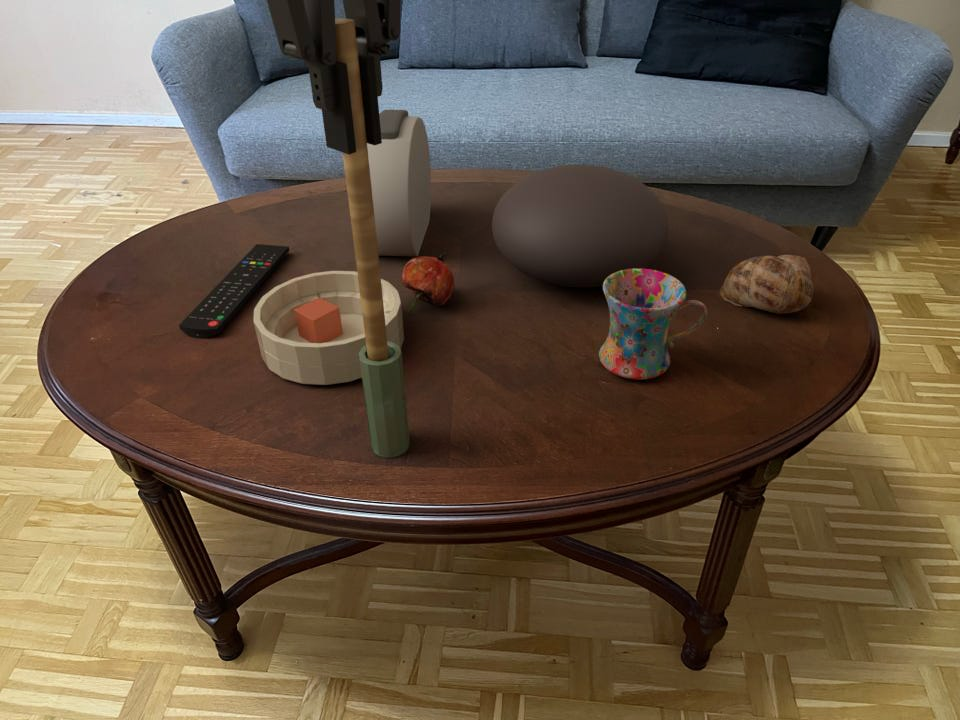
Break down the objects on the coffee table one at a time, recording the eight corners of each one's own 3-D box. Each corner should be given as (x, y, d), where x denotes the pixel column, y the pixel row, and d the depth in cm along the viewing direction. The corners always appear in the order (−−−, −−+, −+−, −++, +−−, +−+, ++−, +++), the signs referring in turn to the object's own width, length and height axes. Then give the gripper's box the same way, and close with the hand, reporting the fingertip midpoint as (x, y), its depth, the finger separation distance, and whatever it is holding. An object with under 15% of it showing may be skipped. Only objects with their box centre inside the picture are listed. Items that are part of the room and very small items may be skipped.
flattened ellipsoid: (473, 244, 113) (472, 152, 105) (620, 225, 118) (630, 136, 109) (519, 326, 94) (521, 222, 85) (692, 300, 99) (711, 198, 90)
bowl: (323, 408, 81) (315, 365, 77) (234, 350, 90) (224, 310, 87) (432, 341, 91) (429, 301, 88) (342, 295, 101) (337, 257, 97)
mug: (594, 383, 84) (602, 306, 78) (595, 339, 91) (603, 265, 85) (699, 392, 82) (716, 314, 76) (692, 346, 90) (706, 272, 84)
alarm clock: (390, 209, 125) (380, 92, 113) (433, 210, 124) (426, 92, 112) (364, 267, 107) (348, 137, 96) (413, 269, 107) (403, 138, 95)
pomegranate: (436, 335, 96) (479, 276, 97) (402, 308, 91) (448, 245, 92) (407, 317, 102) (448, 261, 102) (373, 290, 97) (417, 231, 97)
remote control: (290, 254, 111) (288, 246, 110) (217, 340, 92) (214, 331, 91) (258, 251, 112) (256, 244, 111) (179, 336, 93) (176, 327, 92)
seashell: (785, 274, 103) (817, 237, 93) (798, 332, 99) (833, 298, 90) (713, 276, 102) (738, 238, 93) (724, 334, 99) (750, 300, 90)
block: (318, 347, 89) (313, 320, 87) (298, 335, 92) (293, 309, 89) (343, 333, 92) (339, 307, 90) (323, 323, 94) (319, 296, 92)
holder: (389, 463, 73) (378, 370, 66) (363, 446, 76) (350, 353, 69) (417, 443, 76) (409, 351, 69) (391, 427, 78) (381, 336, 71)
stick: (377, 368, 68) (338, 25, 50) (363, 360, 69) (320, 21, 51) (393, 358, 69) (360, 20, 52) (379, 351, 70) (342, 17, 53)
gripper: (364, -230, 50) (391, 113, 63) (163, -246, 40) (246, 160, 54) (442, -238, 46) (453, 131, 59) (238, -257, 36) (307, 184, 50)
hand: (354, 144), depth 57 cm, fingers closed on stick, 2 cm apart
